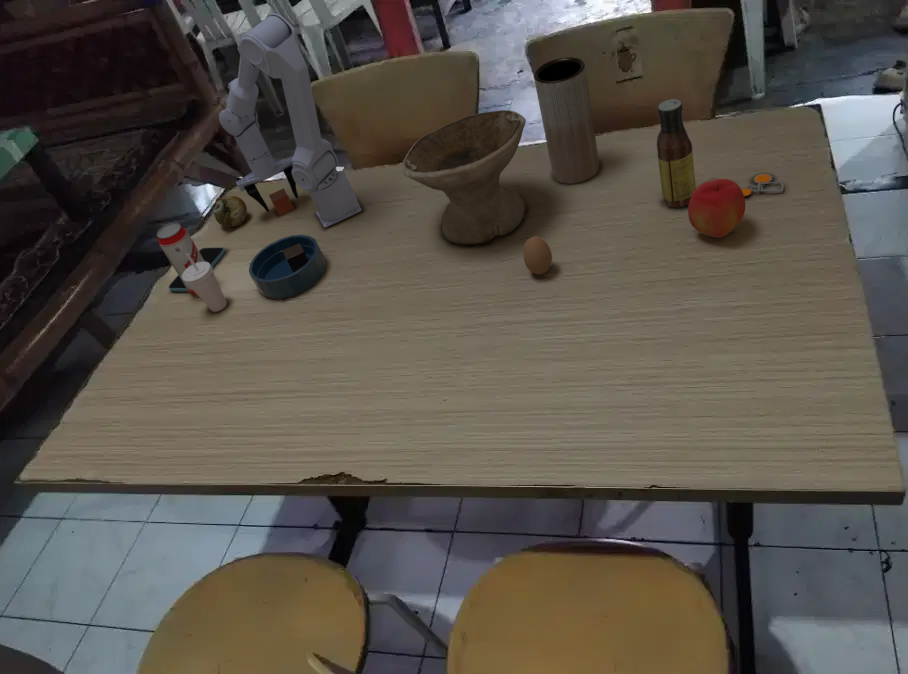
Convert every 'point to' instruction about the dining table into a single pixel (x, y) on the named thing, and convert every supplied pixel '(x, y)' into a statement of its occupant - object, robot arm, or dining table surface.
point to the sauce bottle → (675, 156)
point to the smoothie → (204, 284)
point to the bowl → (471, 174)
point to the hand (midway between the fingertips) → (282, 203)
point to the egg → (537, 255)
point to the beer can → (178, 248)
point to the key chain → (761, 180)
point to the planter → (567, 119)
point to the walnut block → (295, 257)
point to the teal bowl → (286, 268)
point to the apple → (716, 207)
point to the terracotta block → (281, 201)
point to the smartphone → (208, 255)
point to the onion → (230, 211)
